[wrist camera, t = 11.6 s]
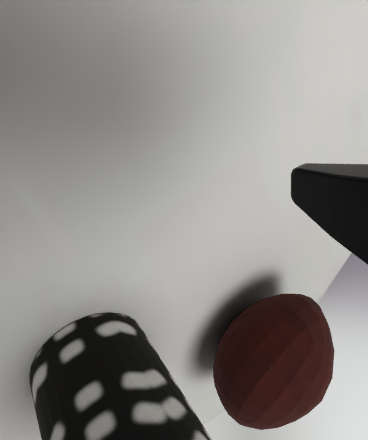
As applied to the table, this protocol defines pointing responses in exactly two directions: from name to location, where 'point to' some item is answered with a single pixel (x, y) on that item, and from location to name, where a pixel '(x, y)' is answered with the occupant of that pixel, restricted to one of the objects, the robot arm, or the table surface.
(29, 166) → the table surface
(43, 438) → the spotted tube
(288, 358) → the potato
